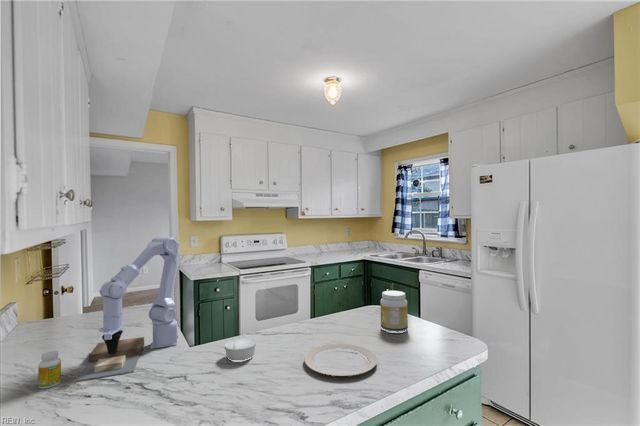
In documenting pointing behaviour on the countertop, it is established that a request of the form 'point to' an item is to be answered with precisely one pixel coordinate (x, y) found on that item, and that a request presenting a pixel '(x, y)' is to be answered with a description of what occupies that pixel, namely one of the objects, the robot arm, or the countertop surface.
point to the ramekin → (240, 348)
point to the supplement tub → (394, 311)
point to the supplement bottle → (49, 370)
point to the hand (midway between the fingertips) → (112, 353)
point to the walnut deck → (118, 349)
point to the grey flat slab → (89, 370)
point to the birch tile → (109, 364)
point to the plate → (366, 352)
